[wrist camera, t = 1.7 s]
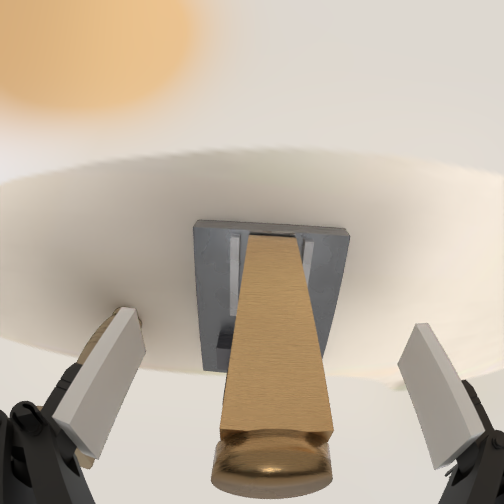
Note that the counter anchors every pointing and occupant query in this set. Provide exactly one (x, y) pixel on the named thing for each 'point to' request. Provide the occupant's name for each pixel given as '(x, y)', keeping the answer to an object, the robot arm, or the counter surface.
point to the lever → (274, 383)
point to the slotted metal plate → (231, 270)
